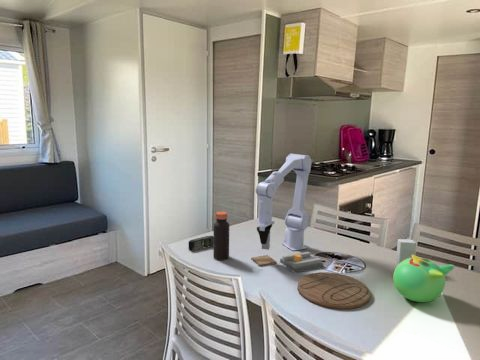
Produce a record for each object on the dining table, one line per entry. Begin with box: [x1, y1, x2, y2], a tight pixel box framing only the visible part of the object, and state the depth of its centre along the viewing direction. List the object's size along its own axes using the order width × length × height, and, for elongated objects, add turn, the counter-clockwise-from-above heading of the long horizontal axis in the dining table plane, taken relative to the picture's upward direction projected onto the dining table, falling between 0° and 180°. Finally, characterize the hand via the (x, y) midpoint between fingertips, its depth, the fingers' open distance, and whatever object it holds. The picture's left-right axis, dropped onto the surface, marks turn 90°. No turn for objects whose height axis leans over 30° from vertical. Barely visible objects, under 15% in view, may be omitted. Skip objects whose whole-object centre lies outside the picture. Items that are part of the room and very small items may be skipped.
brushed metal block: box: [261, 230, 271, 251], centre depth 154 cm, size 3×3×7 cm
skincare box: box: [395, 238, 417, 268], centre depth 150 cm, size 6×4×12 cm
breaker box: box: [279, 251, 324, 273], centre depth 153 cm, size 14×11×3 cm
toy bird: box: [392, 254, 455, 303], centre depth 125 cm, size 18×17×15 cm
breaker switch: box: [294, 253, 302, 262], centre depth 152 cm, size 2×3×2 cm, turn 25°
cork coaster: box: [250, 254, 278, 267], centre depth 156 cm, size 8×8×1 cm
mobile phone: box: [188, 235, 214, 252], centre depth 171 cm, size 5×3×15 cm
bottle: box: [212, 211, 230, 261], centre depth 158 cm, size 7×7×20 cm
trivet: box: [297, 271, 371, 311], centre depth 131 cm, size 25×25×2 cm
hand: (264, 242), depth 154 cm, fingers closed on brushed metal block, 3 cm apart
